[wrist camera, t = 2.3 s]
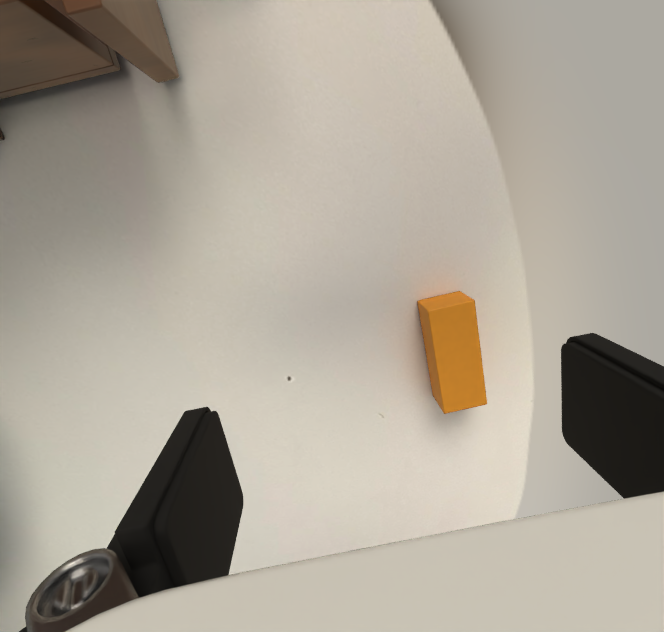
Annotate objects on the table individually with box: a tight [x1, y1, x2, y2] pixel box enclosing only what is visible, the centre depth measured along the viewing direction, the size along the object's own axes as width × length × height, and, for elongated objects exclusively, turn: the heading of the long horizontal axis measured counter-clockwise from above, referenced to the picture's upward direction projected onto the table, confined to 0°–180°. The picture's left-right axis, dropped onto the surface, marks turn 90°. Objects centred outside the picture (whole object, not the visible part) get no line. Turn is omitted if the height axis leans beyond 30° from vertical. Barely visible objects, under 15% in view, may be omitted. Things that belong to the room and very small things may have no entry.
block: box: [417, 291, 487, 414], centre depth 25 cm, size 7×3×2 cm, turn 13°
